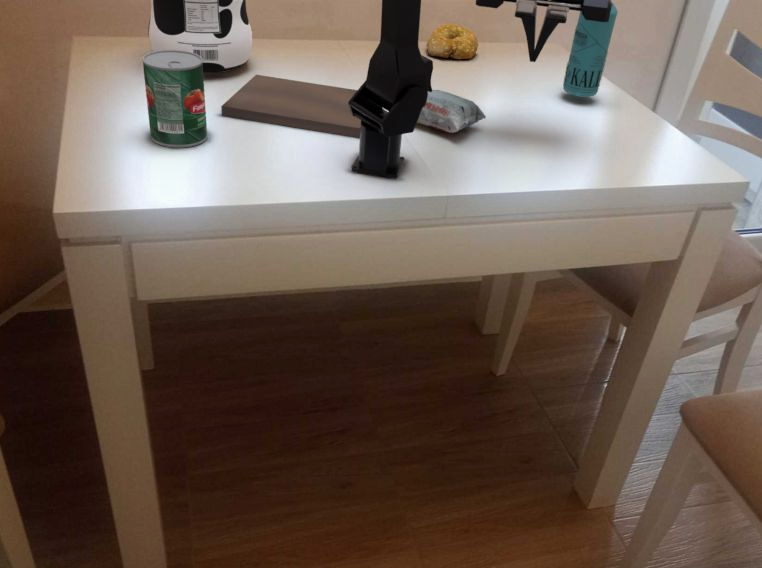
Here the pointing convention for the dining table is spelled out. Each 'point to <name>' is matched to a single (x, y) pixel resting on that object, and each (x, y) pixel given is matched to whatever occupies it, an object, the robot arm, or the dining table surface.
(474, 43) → the bagel
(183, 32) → the milk container
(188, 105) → the canned tomato
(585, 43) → the beverage bottle
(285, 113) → the bread board
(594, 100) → the dining table surface
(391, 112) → the robot arm
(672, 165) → the dining table surface
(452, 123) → the packaged food
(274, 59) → the dining table surface
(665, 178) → the dining table surface
